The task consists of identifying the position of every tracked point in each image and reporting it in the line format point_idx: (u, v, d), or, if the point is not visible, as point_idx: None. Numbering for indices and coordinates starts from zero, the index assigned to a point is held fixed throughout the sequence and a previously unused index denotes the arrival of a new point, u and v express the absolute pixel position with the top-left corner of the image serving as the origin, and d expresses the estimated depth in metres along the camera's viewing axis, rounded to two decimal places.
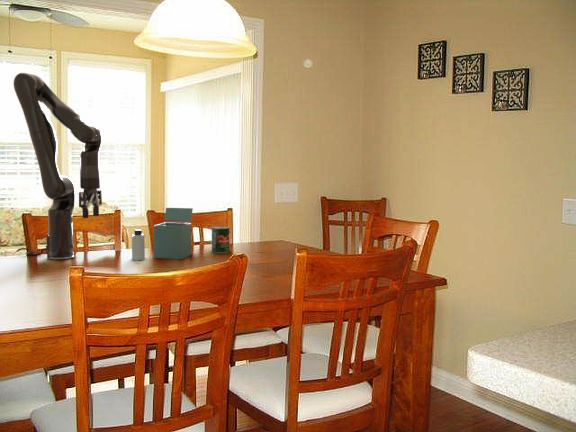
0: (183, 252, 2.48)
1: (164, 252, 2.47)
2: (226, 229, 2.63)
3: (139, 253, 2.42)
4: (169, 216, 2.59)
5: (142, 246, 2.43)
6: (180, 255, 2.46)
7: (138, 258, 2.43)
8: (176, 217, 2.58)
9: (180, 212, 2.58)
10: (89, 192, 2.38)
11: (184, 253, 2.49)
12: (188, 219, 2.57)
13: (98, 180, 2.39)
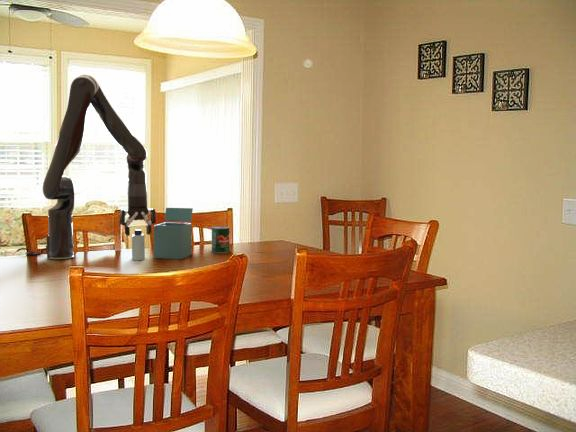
0: (183, 252, 2.48)
1: (164, 252, 2.47)
2: (226, 229, 2.63)
3: (139, 253, 2.42)
4: (169, 216, 2.59)
5: (142, 246, 2.43)
6: (180, 255, 2.46)
7: (138, 258, 2.43)
8: (176, 217, 2.58)
9: (180, 212, 2.58)
10: None
11: (184, 253, 2.49)
12: (188, 219, 2.57)
13: None
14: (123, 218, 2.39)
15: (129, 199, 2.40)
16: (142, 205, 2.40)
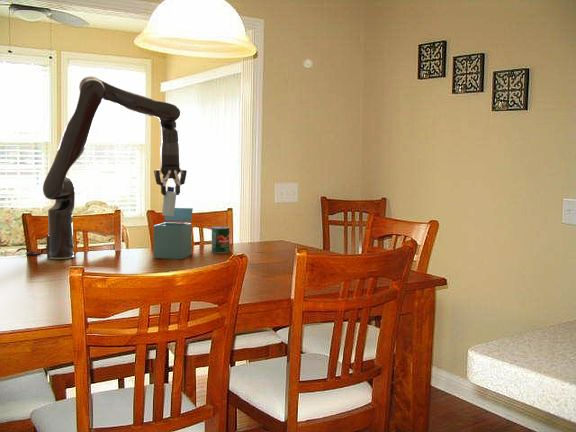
0: (183, 252, 2.48)
1: (164, 252, 2.47)
2: (226, 229, 2.63)
3: (169, 209, 2.48)
4: (169, 216, 2.59)
5: (173, 203, 2.49)
6: (180, 255, 2.46)
7: (168, 214, 2.48)
8: (176, 217, 2.58)
9: (180, 212, 2.58)
10: None
11: (184, 253, 2.49)
12: (188, 219, 2.57)
13: None
14: (158, 177, 2.45)
15: (162, 157, 2.46)
16: (175, 163, 2.46)
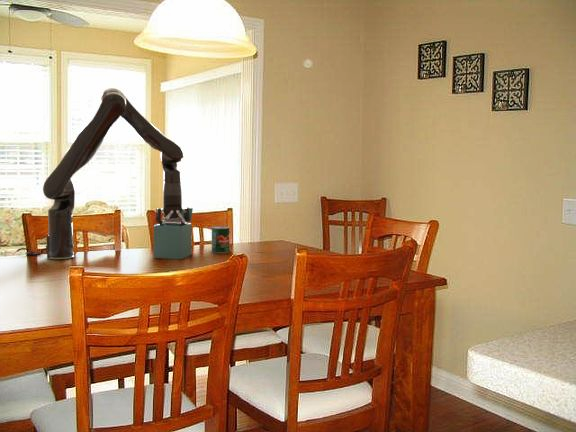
0: (183, 252, 2.48)
1: (164, 252, 2.47)
2: (226, 229, 2.63)
3: None
4: None
5: None
6: (180, 255, 2.46)
7: None
8: None
9: None
10: None
11: (184, 253, 2.49)
12: None
13: None
14: (159, 216, 2.47)
15: (165, 198, 2.48)
16: (177, 204, 2.48)
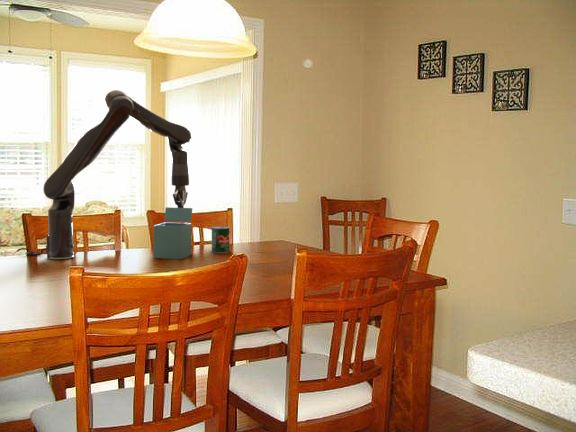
0: (183, 252, 2.48)
1: (164, 252, 2.47)
2: (226, 229, 2.63)
3: None
4: (169, 216, 2.58)
5: None
6: (180, 255, 2.46)
7: None
8: (176, 217, 2.58)
9: (180, 212, 2.58)
10: None
11: (184, 253, 2.49)
12: (188, 219, 2.57)
13: None
14: (179, 199, 2.56)
15: (179, 178, 2.56)
16: (188, 183, 2.60)
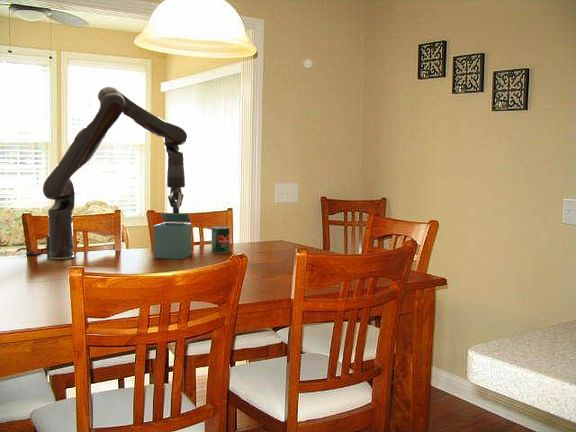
0: (183, 252, 2.48)
1: (164, 252, 2.47)
2: (226, 229, 2.63)
3: None
4: (167, 219, 2.56)
5: None
6: (180, 255, 2.46)
7: None
8: (175, 219, 2.56)
9: (176, 216, 2.54)
10: None
11: (184, 253, 2.49)
12: (188, 220, 2.56)
13: None
14: (175, 201, 2.51)
15: (174, 180, 2.51)
16: (184, 185, 2.55)
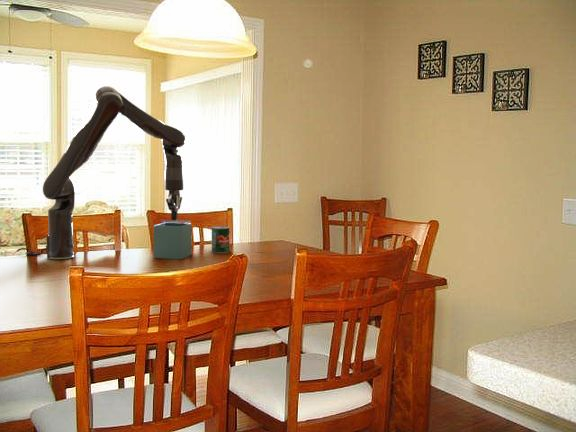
0: (183, 252, 2.48)
1: (164, 252, 2.47)
2: (226, 229, 2.63)
3: None
4: (167, 221, 2.56)
5: None
6: (180, 255, 2.46)
7: None
8: (174, 221, 2.56)
9: (176, 221, 2.54)
10: None
11: (184, 253, 2.49)
12: None
13: None
14: (173, 204, 2.49)
15: (172, 183, 2.48)
16: None
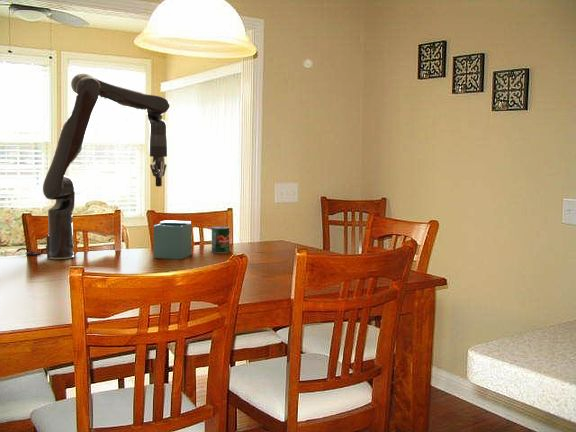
0: (183, 252, 2.48)
1: (164, 252, 2.47)
2: (226, 229, 2.63)
3: None
4: (167, 222, 2.56)
5: None
6: (180, 255, 2.46)
7: None
8: (174, 222, 2.56)
9: None
10: None
11: (184, 253, 2.49)
12: (187, 222, 2.56)
13: None
14: (157, 170, 2.52)
15: (156, 149, 2.51)
16: None
